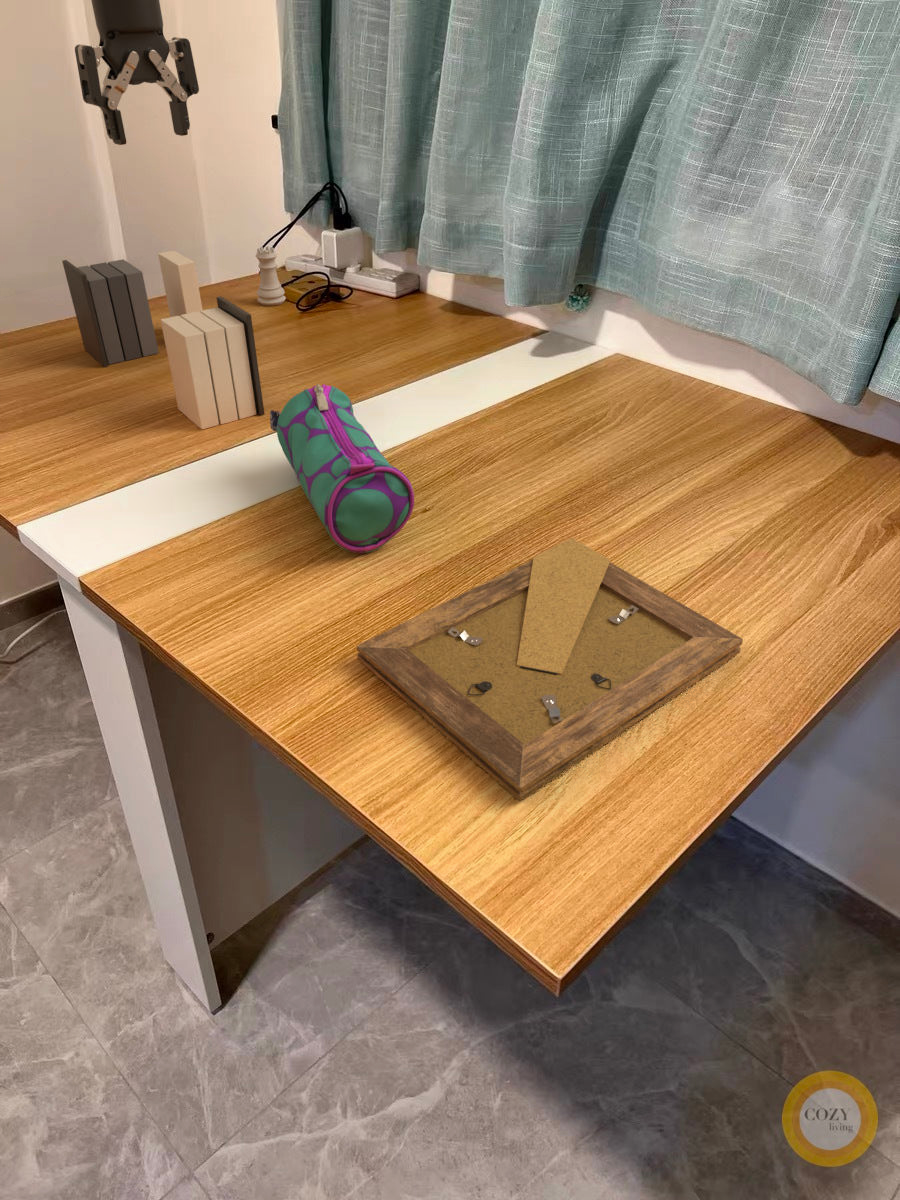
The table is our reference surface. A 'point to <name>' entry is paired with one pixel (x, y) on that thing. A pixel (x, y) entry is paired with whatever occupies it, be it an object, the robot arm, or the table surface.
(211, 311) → the white books
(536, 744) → the picture frame
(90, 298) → the grey books
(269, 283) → the rook chess piece
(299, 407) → the pencil case
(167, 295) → the white book
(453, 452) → the table surface
